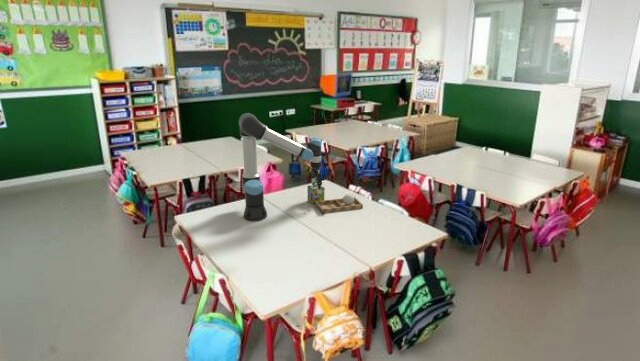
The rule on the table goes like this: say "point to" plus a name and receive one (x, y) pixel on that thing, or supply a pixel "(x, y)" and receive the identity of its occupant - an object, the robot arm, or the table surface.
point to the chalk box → (315, 193)
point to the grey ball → (348, 199)
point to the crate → (336, 205)
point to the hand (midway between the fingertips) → (316, 190)
